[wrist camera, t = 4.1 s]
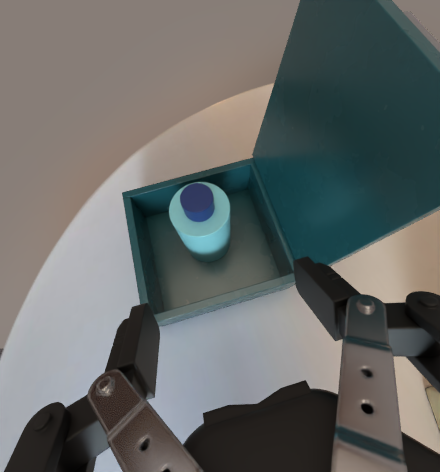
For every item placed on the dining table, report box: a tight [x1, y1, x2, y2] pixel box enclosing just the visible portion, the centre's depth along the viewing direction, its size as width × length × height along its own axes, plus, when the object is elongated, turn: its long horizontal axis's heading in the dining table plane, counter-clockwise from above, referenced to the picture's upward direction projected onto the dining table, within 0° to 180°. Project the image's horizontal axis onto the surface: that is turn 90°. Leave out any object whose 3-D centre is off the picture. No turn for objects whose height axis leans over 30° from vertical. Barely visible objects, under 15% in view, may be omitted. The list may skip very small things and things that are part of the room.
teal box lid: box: [252, 0, 440, 266], centre depth 18 cm, size 16×15×5 cm
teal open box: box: [122, 158, 295, 326], centre depth 28 cm, size 16×15×6 cm
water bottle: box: [169, 182, 230, 262], centre depth 25 cm, size 6×6×11 cm
